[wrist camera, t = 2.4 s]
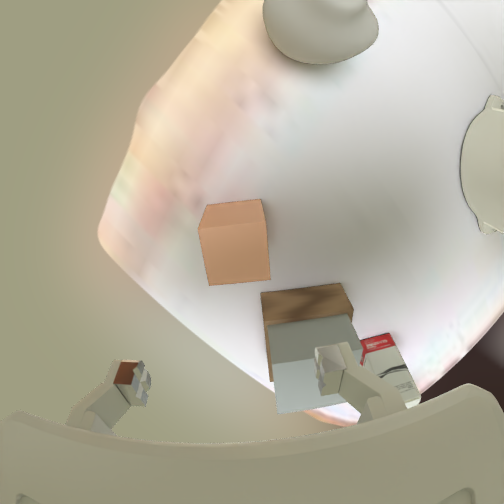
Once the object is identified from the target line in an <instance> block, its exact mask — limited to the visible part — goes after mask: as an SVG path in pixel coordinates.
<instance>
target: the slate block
mask: <svg viewBox="0 0 504 504" xmlns="http://www.w3.org/2000/svg"><path fill="white" fill-rule="evenodd" d="M267 327H268V336H269V345H270V353H271V362H272V371H273V379H274V387H275V395H276V404H277V413H278V414H283V413H290V412H297V411H304V410H310V409H315V408H321V407H326V406H331V405H336V404H341V403H345V402H347V401H346V400H345V399H344V398H343V397H341V396H340V395H339V393H337V394H331V395H326V396H321V394H320V391H319V387H318V381H319V380H318V379H317V378H316V376H315V371H314V359H315V358H316V356H315V348H316V347H320V346H326V345H331V344H337V343H342V342H348V344H349V346H350V348H351V350H352V353H353V355H354V357H355V359H356V362H357V364H358V366H359V365H360V361H361V356H362V352H363V347H362V345H361V343H360V340H359V338H358V336H357V334H356V331H355V329H354V327H353V325H352V323H351V321H350V318H349V316H348V314H347V313H345V314H340V315H334V316H328V317H322V318H316V319H309V320H303V321H296V322H289V323H281V324H274V325H267Z"/></svg>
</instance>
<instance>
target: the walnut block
mask: <svg viewBox="0 0 504 504" xmlns="http://www.w3.org/2000/svg"><path fill="white" fill-rule="evenodd" d="M261 302H262V312H263V321H264V331H265V340H266V349H267V359H268V368H269V377H270V382H274V379H273V371H272V362H271V353H270V345H269V336H268V327H267V325H274V324H281V323H289V322H296V321H303V320H309V319H316V318H322V317H328V316H334V315H340V314H345V313H347V314H348V316H349V318H350V321H351V323H352V317H353V310H354V309H353V307H352V305H351V303H350V301H349V299H348V297H347V295H346V293H345V291H344V289H343V287H342V286H341V284H340V283H336V284H329V285H322V286H314V287H307V288H299V289H291V290H282V291H274V292H265V293H261Z"/></svg>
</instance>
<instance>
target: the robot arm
mask: <svg viewBox="0 0 504 504" xmlns="http://www.w3.org/2000/svg"><path fill="white" fill-rule="evenodd" d="M461 181H462V187H463V192H464V195H465V198H466V201H467V203H468V205H469V207H470V208H471V210H472V211H473V212H474V213H475V215H476V216H477V219H478V224H479V228H480V230H481V232H482V233H484V234H486V235H488V234H491V233H493V232H495V231H499V232H501V233H502V234H504V100H502V99H501V98H500V97H498V96H495V95H491V96H490V97H489V99H488V101H487V104H486V106H485V109H484V110H483V111H482V112H481V113H480V114H479V115H478V116H477V117H476V118H475V119H474V120H473V122H472V123H471V125H470V127H469V129H468V131H467V133H466V136H465V140H464V144H463V148H462V155H461ZM315 356H316V358H315V359H314V371H315V376H316V378H317V379H318V380H319V381H318V387H319V391H320V394H321V396H326V395H331V394H337V393H339V395H340V396H341V397H343V398H344V399H345V400H346V401H347V402H348V403H349V404H351V405H352V406H353V407H354V408H355V409H356V410H357V411H359V412H360V413H361V416H360V418H359V420H358V423H357V424H356V425H353V426H349V427H344V428H341V429H336V430H331V431H326V432H321V433H316V434H310V435H305V436H299V437H292V438H284V439H276V440H268V441H255V442H242V443H241V442H240V443H212V444H211V443H175V442H161V441H150V440H141V439H133V438H126V437H120V436H117V435H116V434H115V433H114V432H113V431H112V430H111V429H112V427H113V426H114V425H115V424H116V423H117V422H118V421H119V419H120V418H121V417H122V416H123V415H124V414H125V413H126V412H127V410H128V409H129V408H130V407H131V406H145V407H146V403H147V398H148V395H147V393H146V392H147V391H148V390H149V389H150V386H151V378H150V374H149V372H148V371H147V370H145V369H144V366H145V365H144V363H143V362H142V361H138V360H118V359H115V360H113V361H112V363H111V366H110V369H109V371H108V374H107V376H106V379H105V381H104V383H101V384H100V385H98V386H97V387H96V388H95V389H94V390H92V391H91V392H90V393H89V394H87V395H86V396H85V397H84V398H82V399H81V400H80V401H79V402H78V403H76V404H75V405H74V406H73V407H72V409H71V412H70V414H69V417H68V419H67V422H66V424H65V425H64V424H61V423H57V422H53V421H50V420H47V419H44V418H41V417H38V416H35V415H32V414H29V413H27V412H24V411H21V410H17V411H15V412H13V413H11V414H10V415H8V416H7V417H5V418H4V419H3V420H1V421H0V504H504V413H503V411H502V409H501V407H500V405H499V404H498V402H497V400H496V399H495V397H494V396H493V395H492V394H491V393H490V392H488V391H486V390H484V389H482V388H480V387H478V386H475V385H473V384H464V385H462V386H460V387H458V388H455V389H453V390H451V391H449V392H447V393H445V394H443V395H440V396H438V397H436V398H433V399H431V400H429V401H426V402H424V403H421V404H419V405H416V406H413V407H411V408H408V409H407V407H406V405H405V403H404V401H403V399H402V396H401V394H400V392H399V390H398V389H397V388H396V387H394V386H392V385H391V384H389V383H388V382H386V381H384V380H383V379H381V378H380V377H378V376H376V375H375V374H373V373H372V372H370V371H368V370H367V369H365V368H364V367H362V366H358V364H357V362H356V359H355V357H354V355H353V353H352V350H351V348H350V346H349V344H348V342H342V343H337V344H331V345H326V346H320V347H316V348H315Z"/></svg>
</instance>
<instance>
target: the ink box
mask: <svg viewBox="0 0 504 504" xmlns="http://www.w3.org/2000/svg"><path fill="white" fill-rule="evenodd" d="M360 343H361V345H362V347H363V352H362V356H361V361H360V365H359V366H362V367H364V368H365V369H367V370H368V371H370V372H372V373H373V374H375V375H376V376H378V377H380V378H381V379H383V380H384V381H386V382H388V383H389V384H391V385H392V386H394V387H396V388H397V389H398V390H399V392H400V394H401V396H402V399H403V401H404V403H405V405H406V407H407V409H408V408H411V407H413V406H416V405H418V403H419V402H420V400H421V399H420V398H421V395H420V393H419V391H418V389H417V387H416V384H415V382H414V380H413V378H412V376H411V374H410V372H409V370H408V368H407V366H406V364H405V362H404V360H403V358H402V356H401V354H400V352H399V350H398V348H397V346H396V345H395V343H394V341H393V339H392V337H391V335H390V334H389V333H388V334H384V335H380V336H376V337H372V338H368V339H364V340H361V341H360Z"/></svg>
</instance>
